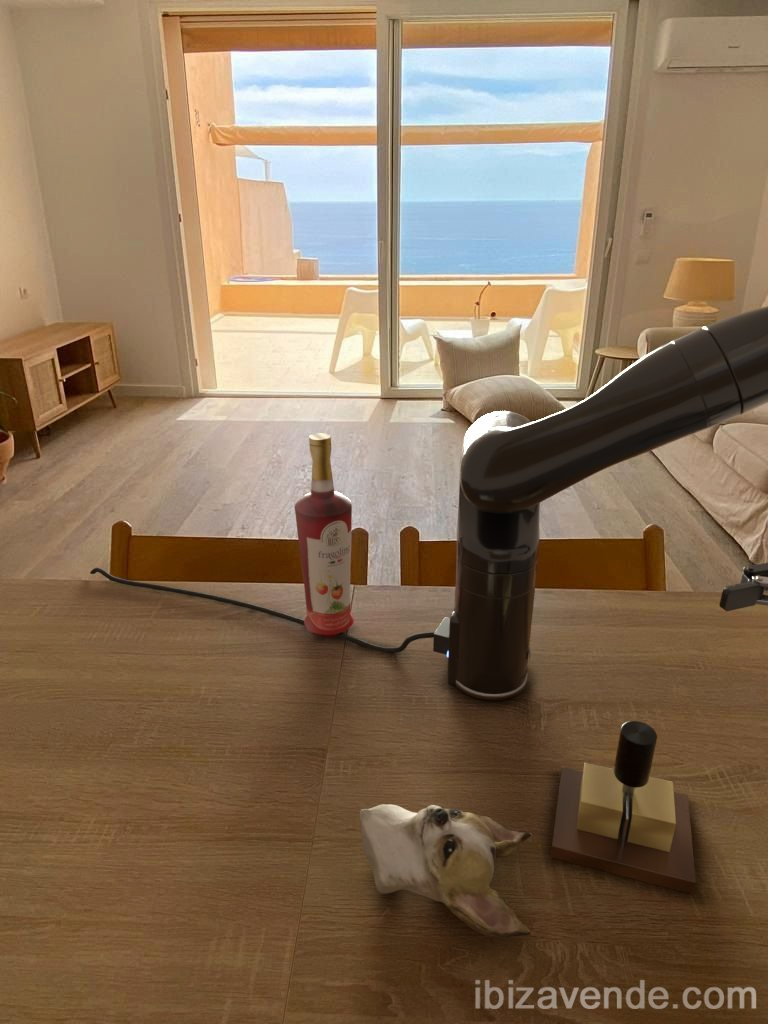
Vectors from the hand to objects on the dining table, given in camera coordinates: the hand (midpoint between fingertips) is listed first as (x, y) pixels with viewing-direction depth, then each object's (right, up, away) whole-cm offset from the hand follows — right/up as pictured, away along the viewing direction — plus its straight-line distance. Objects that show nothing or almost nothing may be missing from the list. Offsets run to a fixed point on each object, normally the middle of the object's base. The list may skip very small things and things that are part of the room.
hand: (759, 624), depth 61 cm
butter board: (-11, -20, +4) cm, 23 cm away
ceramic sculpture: (-28, -23, 0) cm, 36 cm away
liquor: (-41, -6, +36) cm, 54 cm away
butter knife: (-11, -19, +4) cm, 22 cm away
